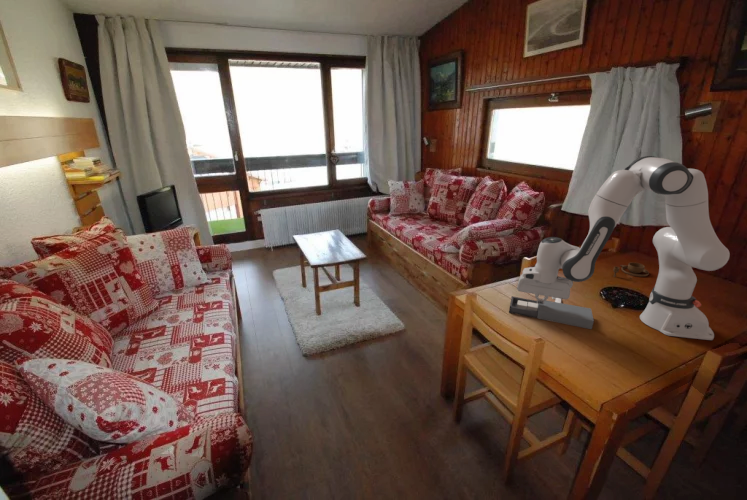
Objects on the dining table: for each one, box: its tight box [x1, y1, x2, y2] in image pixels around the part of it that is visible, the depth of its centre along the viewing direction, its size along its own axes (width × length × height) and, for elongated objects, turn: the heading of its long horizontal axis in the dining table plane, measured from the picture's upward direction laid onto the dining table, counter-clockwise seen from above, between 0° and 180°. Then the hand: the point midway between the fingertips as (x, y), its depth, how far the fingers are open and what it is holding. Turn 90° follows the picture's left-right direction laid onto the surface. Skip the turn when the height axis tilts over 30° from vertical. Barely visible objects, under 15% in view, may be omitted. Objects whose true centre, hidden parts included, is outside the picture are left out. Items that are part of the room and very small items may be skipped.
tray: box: [508, 296, 537, 319], centre depth 147 cm, size 11×10×3 cm
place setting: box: [612, 261, 650, 280], centre depth 178 cm, size 18×20×6 cm
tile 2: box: [527, 302, 538, 311], centre depth 145 cm, size 4×4×2 cm
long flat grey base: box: [536, 300, 595, 330], centre depth 140 cm, size 20×10×4 cm, turn 64°
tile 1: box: [517, 300, 528, 309], centre depth 147 cm, size 4×4×2 cm
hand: (540, 303), depth 143 cm, fingers closed
